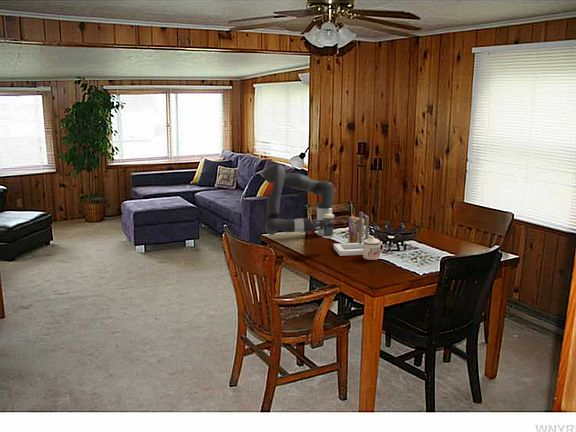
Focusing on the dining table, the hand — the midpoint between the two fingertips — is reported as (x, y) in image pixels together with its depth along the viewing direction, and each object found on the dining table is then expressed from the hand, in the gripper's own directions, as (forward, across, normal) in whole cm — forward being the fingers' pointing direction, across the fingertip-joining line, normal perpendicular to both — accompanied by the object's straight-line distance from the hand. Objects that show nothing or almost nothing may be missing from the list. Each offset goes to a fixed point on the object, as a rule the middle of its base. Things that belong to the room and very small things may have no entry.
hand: (332, 223), depth 306 cm
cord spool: (-3, 0, +7) cm, 7 cm away
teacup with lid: (+19, -14, +16) cm, 29 cm away
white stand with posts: (+12, 0, +16) cm, 20 cm away
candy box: (+17, +16, +16) cm, 28 cm away
